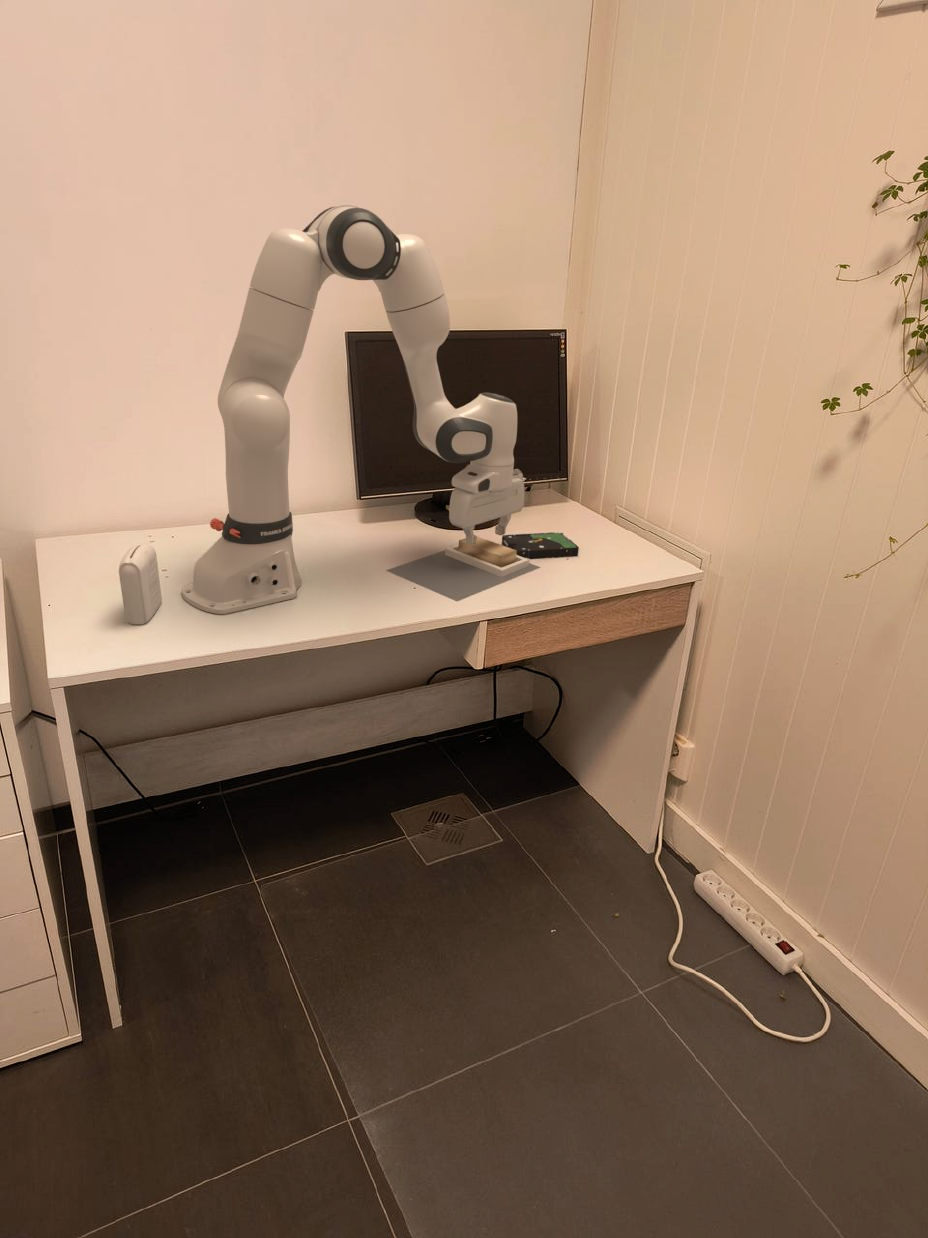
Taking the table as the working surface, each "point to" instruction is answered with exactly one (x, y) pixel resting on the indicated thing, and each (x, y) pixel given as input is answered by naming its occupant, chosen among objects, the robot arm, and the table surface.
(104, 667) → the table surface
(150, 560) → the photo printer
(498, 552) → the tan wooden block
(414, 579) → the mat
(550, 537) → the disk drive
